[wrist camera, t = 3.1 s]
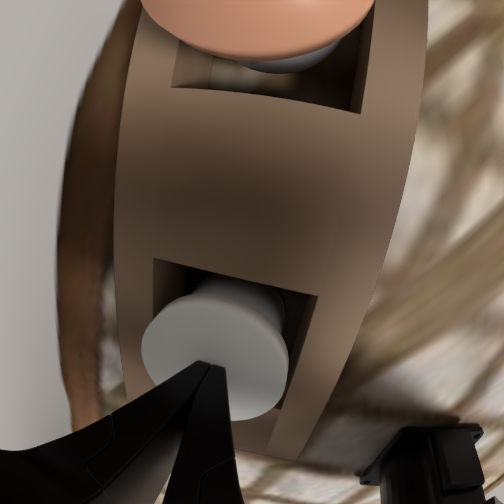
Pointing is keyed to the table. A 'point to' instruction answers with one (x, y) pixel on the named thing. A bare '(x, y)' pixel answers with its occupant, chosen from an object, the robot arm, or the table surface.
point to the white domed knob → (224, 340)
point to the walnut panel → (264, 200)
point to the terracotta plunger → (261, 29)
